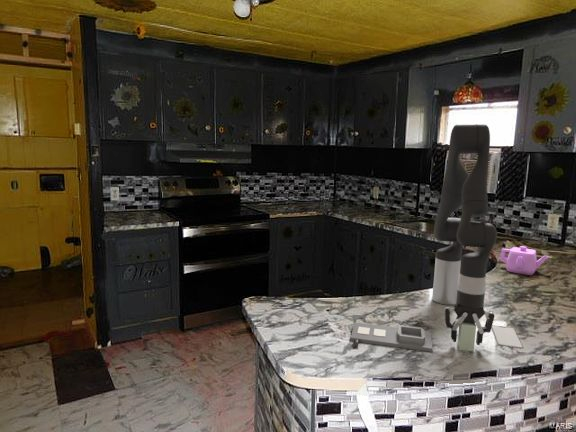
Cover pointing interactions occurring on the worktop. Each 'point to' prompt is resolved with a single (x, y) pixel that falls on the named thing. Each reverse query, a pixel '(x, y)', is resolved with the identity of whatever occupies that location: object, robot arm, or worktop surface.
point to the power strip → (392, 336)
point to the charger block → (466, 336)
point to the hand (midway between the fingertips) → (465, 342)
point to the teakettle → (521, 260)
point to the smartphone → (506, 336)
